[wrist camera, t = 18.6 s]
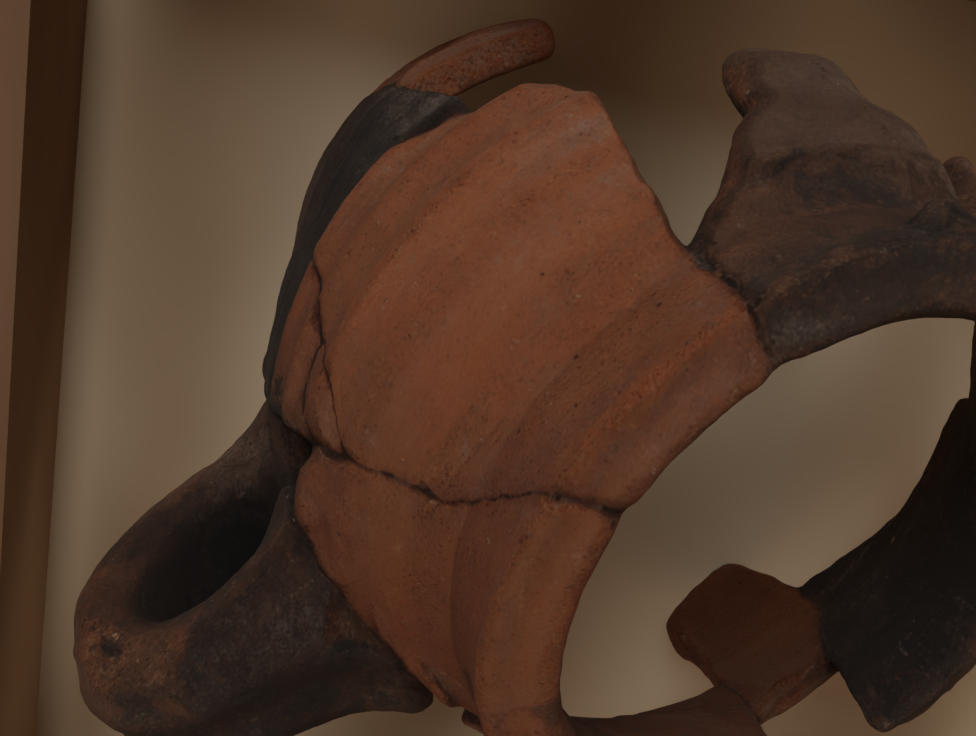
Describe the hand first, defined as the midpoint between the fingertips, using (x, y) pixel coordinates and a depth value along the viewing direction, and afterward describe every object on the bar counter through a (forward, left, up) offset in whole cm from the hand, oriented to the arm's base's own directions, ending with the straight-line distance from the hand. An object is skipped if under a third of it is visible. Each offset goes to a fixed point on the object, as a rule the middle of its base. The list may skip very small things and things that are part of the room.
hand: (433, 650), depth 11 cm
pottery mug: (0, +3, -4) cm, 5 cm away
